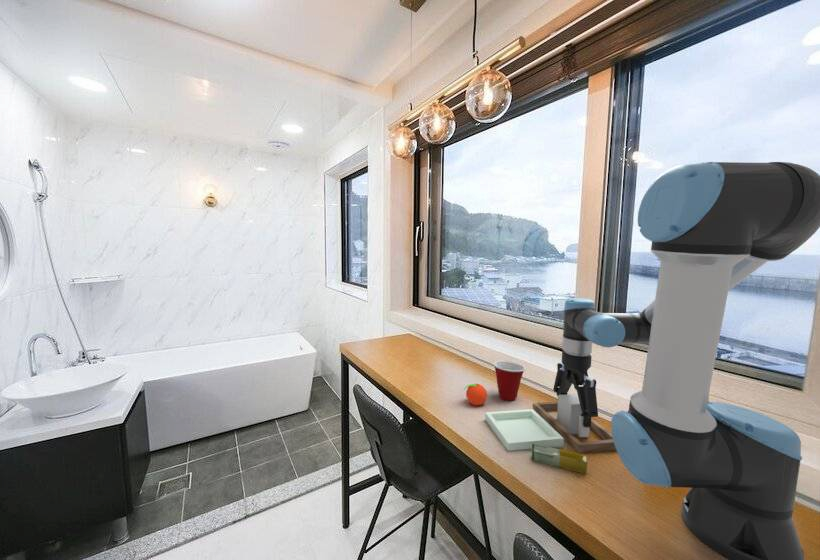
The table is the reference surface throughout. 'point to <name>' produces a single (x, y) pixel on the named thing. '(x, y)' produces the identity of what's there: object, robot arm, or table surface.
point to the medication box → (560, 458)
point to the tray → (523, 429)
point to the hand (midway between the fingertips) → (572, 426)
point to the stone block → (569, 412)
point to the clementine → (476, 394)
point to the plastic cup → (508, 379)
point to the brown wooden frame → (569, 438)
